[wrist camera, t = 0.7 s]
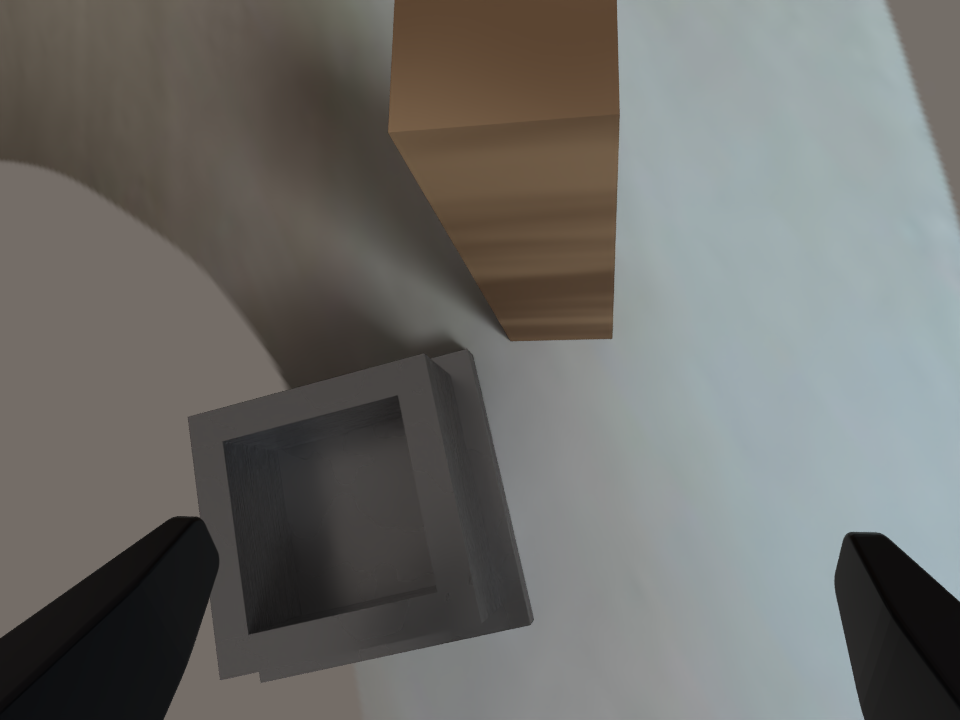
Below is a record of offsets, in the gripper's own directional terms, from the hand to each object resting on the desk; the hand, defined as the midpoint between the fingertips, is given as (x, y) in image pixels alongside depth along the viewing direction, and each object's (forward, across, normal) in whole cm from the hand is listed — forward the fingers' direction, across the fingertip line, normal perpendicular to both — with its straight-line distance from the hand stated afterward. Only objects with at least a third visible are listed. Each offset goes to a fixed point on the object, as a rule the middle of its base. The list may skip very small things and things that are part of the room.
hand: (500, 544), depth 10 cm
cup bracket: (+10, +6, +9) cm, 15 cm away
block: (+15, 0, +4) cm, 15 cm away
